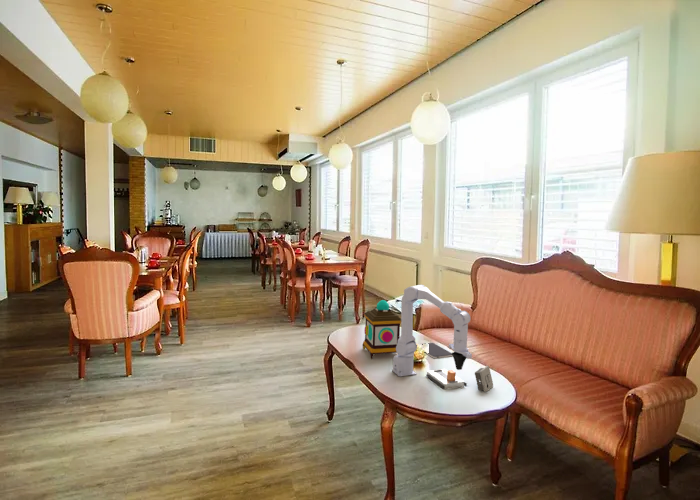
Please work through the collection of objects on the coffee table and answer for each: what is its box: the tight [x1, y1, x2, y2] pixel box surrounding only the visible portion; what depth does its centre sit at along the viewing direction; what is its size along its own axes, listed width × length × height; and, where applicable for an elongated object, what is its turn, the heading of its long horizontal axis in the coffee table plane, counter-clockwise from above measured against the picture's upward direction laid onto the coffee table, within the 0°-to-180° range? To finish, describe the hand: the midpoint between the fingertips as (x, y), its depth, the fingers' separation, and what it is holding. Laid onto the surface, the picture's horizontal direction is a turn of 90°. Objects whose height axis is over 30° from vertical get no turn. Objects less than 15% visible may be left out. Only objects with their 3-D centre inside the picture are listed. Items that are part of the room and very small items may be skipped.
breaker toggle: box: [447, 369, 457, 381], centre depth 186 cm, size 2×3×4 cm
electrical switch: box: [474, 365, 494, 393], centre depth 185 cm, size 9×5×9 cm, turn 141°
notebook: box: [421, 342, 453, 359], centre depth 233 cm, size 13×2×21 cm
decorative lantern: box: [362, 299, 401, 360], centre depth 227 cm, size 20×20×30 cm
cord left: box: [425, 373, 445, 390], centre depth 190 cm, size 14×1×1 cm, turn 20°
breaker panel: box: [426, 368, 465, 390], centre depth 191 cm, size 10×16×3 cm, turn 20°
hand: (458, 369), depth 181 cm, fingers closed
